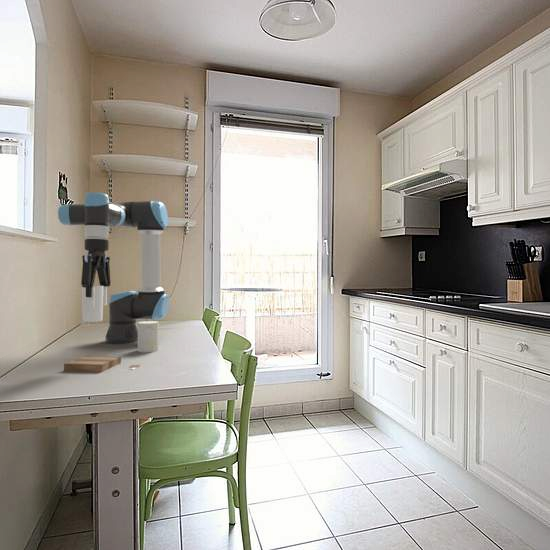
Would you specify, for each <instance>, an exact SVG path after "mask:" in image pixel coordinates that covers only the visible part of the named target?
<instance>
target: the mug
mask: <svg viewBox="0 0 550 550" xmlns="http://www.w3.org/2000/svg"><path fill="white" fill-rule="evenodd" d="M93 288H95V307H86V287H82V286H81V319H82V320H81V321H82V322H83V323H98V322H103V316H104V315H103V314H104V305H103V286H100V285H93Z"/></svg>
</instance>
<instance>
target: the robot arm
mask: <svg viewBox="0 0 550 550" xmlns="http://www.w3.org/2000/svg"><path fill="white" fill-rule="evenodd" d="M57 218H58V220H59V222H60V223H61V224H62V225H64V226H83V225H84V230H83V231H84V237H85V239H84V250H85V251H88V253H87V254H86V255H85V254H84V255H82V257H81V258H82V268H81V269H82V270H81V282H80V284H81V288H82V287H86V307H95V288H93V286H94V284H95V278H96V275H97V277H98V283H99V286H103V306H107V305H108V307H109V314H108V315H109V318H108V319H109V324H108V325H109V326H108V328H107V332H106V335H105V336H104V337H105V338H104V343H106V344H111V345H122V344H123V345H125V344H131V343H138V325H137V320H152V321H154V320H155V321H156V320H162V319H164V318H166V315H167V313H168V312H169V308H170V307H169V306H170V298H169V297H170V296H169V295H168V294H167V293H165V289H164V288H163V287H162V267H161V266H162V263H161V262H162V261H161V260H162V259H161V258H162V255H161V254H162V253H161V252H162V251H161V249H162V248H161V235H162V234H163V233H164V232H165V230H164V228H166V227H167V226H168V224H169V216H168V211H167V208H166V206H165V204H164V203H162V202H161V201H155V200H152V201H151V200H150V201H147V200H146V201H125V202H120V203H119V202H118V203H116V202H115V203H110V199H109V195H108V194H106V193H102V192H87V193H85V196H84V203H82V204H80V203H79V204H76V203H75V204H73V203H71V204H70V203H68V204H61V206H59V208H58V209H57ZM109 226H110V227H119V226H121V227H127V228H129V227H130V228H136V229H137V233H139V234H140V258H141V261H140V263H141V287H140V288H139V290H138V293H137V291H136V290H132V291H122V292H114V293H112V294H111V295H110V296H109V300H108V287H111V284H112V282H111V270H110V269H111V267H110V261H111V258H110V256H106V252H107V251H109V248H110V247H109V244H110V243H109V240H108V239H109V236H110V235H109V233H110V231H109V230H110V229H109V228H110V227H109ZM108 301H109V303H108Z"/></svg>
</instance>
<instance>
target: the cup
mask: <svg viewBox="0 0 550 550" xmlns="http://www.w3.org/2000/svg"><path fill="white" fill-rule="evenodd" d="M159 324H160V323H159V321H156V320H155V321H154V320H146V321H145V320H143V321H138V322H137V329H138V341H137V352H138V353H154V352H158V351H159V333H160V332H159V329H160V328H159V326H160V325H159Z"/></svg>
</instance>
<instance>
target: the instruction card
mask: <svg viewBox="0 0 550 550" xmlns="http://www.w3.org/2000/svg"><path fill="white" fill-rule="evenodd" d="M139 367H141V364H131V365H130V366H128V370H136V369H137V368H139ZM119 372H126V370H125V369H124V368H121V369H119Z"/></svg>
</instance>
